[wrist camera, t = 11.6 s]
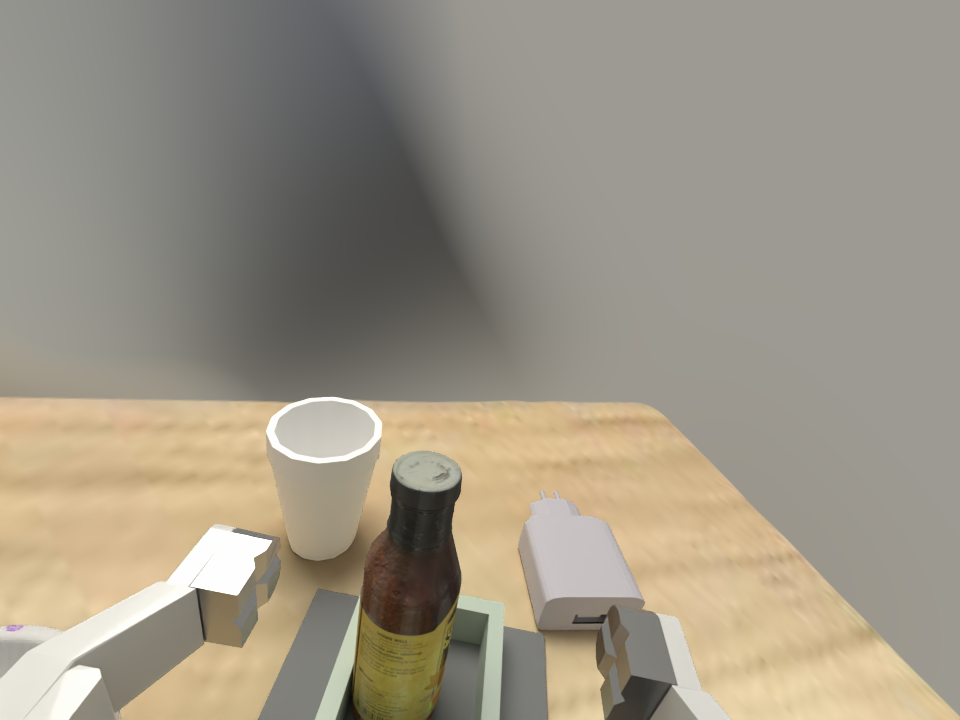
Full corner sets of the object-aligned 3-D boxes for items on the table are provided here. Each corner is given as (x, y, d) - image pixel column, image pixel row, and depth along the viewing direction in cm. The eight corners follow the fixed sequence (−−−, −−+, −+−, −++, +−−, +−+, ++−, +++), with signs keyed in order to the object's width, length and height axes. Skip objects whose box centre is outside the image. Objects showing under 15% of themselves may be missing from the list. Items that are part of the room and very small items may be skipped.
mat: (200, 847, 25) (200, 844, 25) (318, 591, 40) (318, 588, 40) (553, 918, 25) (555, 916, 25) (543, 637, 40) (544, 634, 40)
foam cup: (251, 564, 41) (243, 449, 35) (295, 492, 49) (294, 389, 43) (356, 583, 41) (365, 472, 35) (382, 507, 49) (393, 408, 44)
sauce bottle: (448, 731, 32) (506, 506, 24) (356, 765, 29) (389, 523, 22) (422, 643, 37) (463, 437, 30) (342, 665, 34) (365, 444, 27)
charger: (580, 508, 55) (630, 631, 42) (506, 505, 53) (535, 632, 40) (591, 479, 53) (648, 598, 40) (514, 474, 51) (548, 597, 38)
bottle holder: (299, 794, 28) (299, 762, 26) (363, 606, 39) (366, 575, 37) (482, 832, 28) (495, 802, 26) (495, 633, 39) (504, 603, 37)
